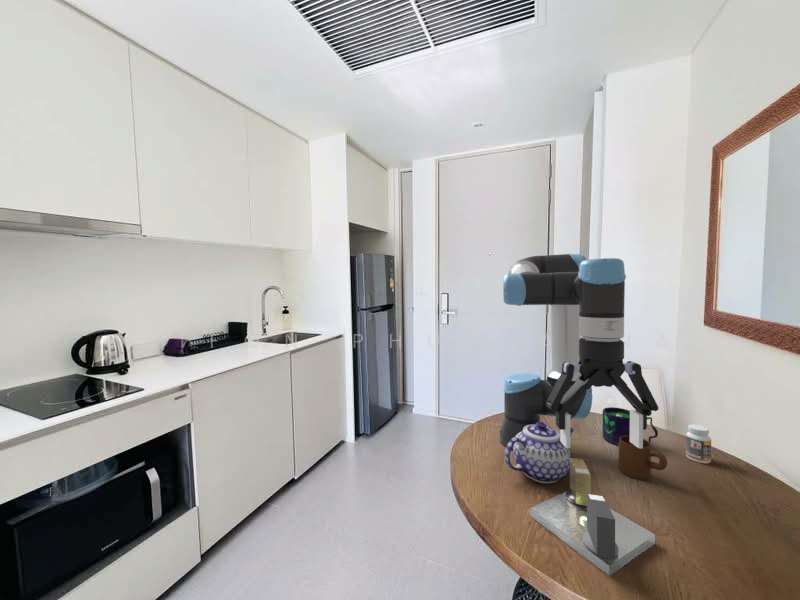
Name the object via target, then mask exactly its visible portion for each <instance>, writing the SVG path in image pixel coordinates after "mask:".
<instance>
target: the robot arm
mask: <svg viewBox="0 0 800 600" xmlns="http://www.w3.org/2000/svg"><path fill="white" fill-rule="evenodd" d="M626 278H627V275H626V272H625V262H624V260H623V259H620V258H617V257H616V258H615V257H614V258H613V257H612V258H611V257H609V258H604V257H603V258H592V259H587V257H586V256H585V255H583V254H577V253H574V254H573V253H566V254H564V253H563V254H562V253H561V254H547V255H546V254H545V255H533V256H528V257H525V258H522V259H520V260H517V261H516V262H515V263H513V264H512V265H511V266H510V267H509V270H508V274H505V275H504V276H503V286H502V287H503V290H502V291H503V302H504V303H505V305H510V306H518V307H519V306H546V305H547V306H548V305H549V306H550V325H551V326H550V329H551V330H550V333H551V337H550V338H551V339H550V340H551V343H550V345H551V346H550V348H551V351H550V352H551V370H550V371H549V372H548V373H547V374H546V379H541V377H540V376H539V374H536V373H528V372H527V373H524V372H523V373H515V374H511V375H509V376H506V378H505V380H504V385H503V386H504V388H503V393H504V396H503V397H504V398H503V399H504V403H503V404H504V405H503V407H504V408H503V409H504V410H503V411H504V413H503V415H504V417H503V422H502V424H501V427H500V428H501V429H500V430H499V432H498V433H499V437H498V438H499V439H498V440H499V442H500V444H502V445H503V446H504V447H505V448H506V447H507V444H508V443H509V441H510V440H511V439H512V438H513V437H515V436H516V435H517V434H518V433H519V432H521V431H522V430H523V428H524V427H525V426H527V425H532V424H536V423H537V422H541V416H547V417H555V426H556V427H557V428H558V429H559V434H560V442H561V443H562V444H563V445H564V446H565V447H566V448H570V449H571V437H570V428H571V420H573V419H579V420H581V419H582V420H584V419H586V418H587V417H589V415H590V412H591V411H592V406H593V387H595V388H596V387H599V388H600V387H603V386H604V387H608V388H610V387H613V386H614V387H615V388H616V390H618V391H619V393H620V394H621V395H622V396H623V397H624V398H625V400H626V401H627V402H628V403H629V404H630V405H631V407H632V408H634V409H629V411H630V442H631V443H632V444H633V445H635V446H636V447H638V448H643V439H644V431H645V430H647V428H648V419H647V417H651V415H652V414H653V413H652V412H657V411H658V410H659V405H658V403H657V402H656V399H655V398H654V395H653V394H652V391H651V390H650V388H649V386H648V385H647V382H646V380H645V377H644V376H643V372H642V365H641V364H639V363H637V362H634V361H631V360H628V361H627V362H625V363H624V359H625V342H624V341H623V340H622V339H623V338H624V337H625V293H626V292H625V291H626V290H625V289H626V288H625V287H626ZM624 373H626V374H627V375H628V377H629V379H630V382H631V383H632V385H633V387H634V389H635V391H636V393H637V395H638V396H637V395H636V394H635V393H634V391H632V389H631V388H630V387H629V386H628V384H627V383H626V381H625V380H624V379H623V378H622V377H621V376H623V374H624ZM511 451H513V447H512V450H511Z"/></svg>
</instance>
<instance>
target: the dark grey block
mask: <svg viewBox="0 0 800 600" xmlns="http://www.w3.org/2000/svg"><path fill="white" fill-rule="evenodd" d="M610 509H611V508H610V506H609V504H608V503H607V501H606V499H605V497H604V496H603V495H599V494H598V495H597V494H592V493H591V494H587V530H588V532H586V533H584V535H583V542H584V544H585V546H586V547H587V548H588V549H589V550H590V551H592V552H593V553H595V554H597V555H600V556H603V557H608V558H615V556H617V554H618V546H617V544H616V543H615V518H614V516H613V514H612V512H611V510H610Z"/></svg>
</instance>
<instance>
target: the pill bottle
mask: <svg viewBox="0 0 800 600" xmlns="http://www.w3.org/2000/svg"><path fill="white" fill-rule="evenodd" d="M687 426H688V427H687V430H688V431H687V432H686V434H685V455H686V458H688V459H689V460H691V461H693V462H696V463H699V464H710V463H711V462H712V438H711V437H710V436H709V433H710V430H709V428H707V427H706V426H703V425H699V424H688V425H687Z"/></svg>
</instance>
